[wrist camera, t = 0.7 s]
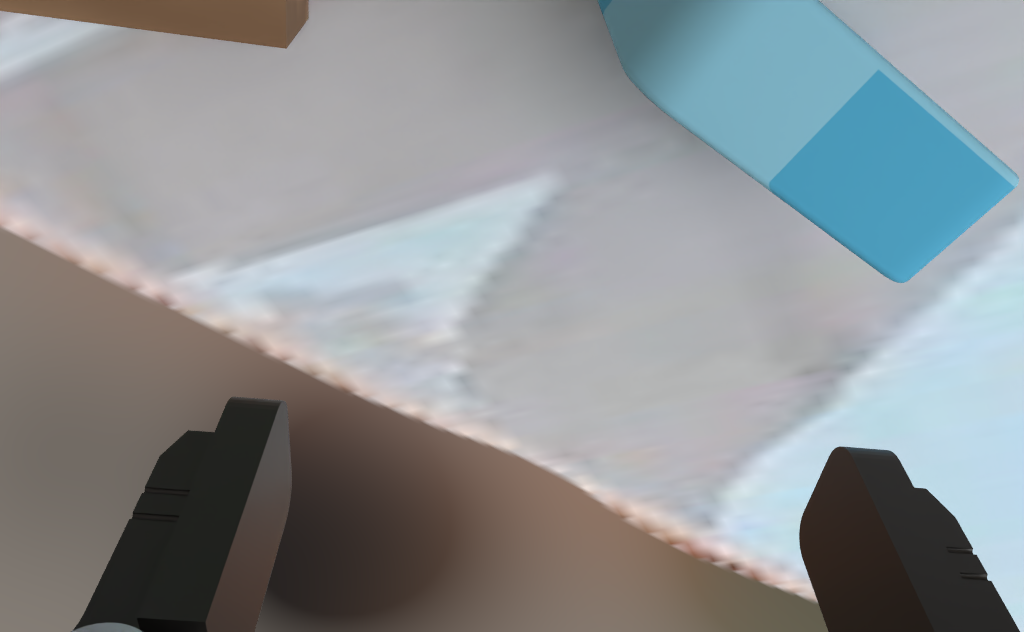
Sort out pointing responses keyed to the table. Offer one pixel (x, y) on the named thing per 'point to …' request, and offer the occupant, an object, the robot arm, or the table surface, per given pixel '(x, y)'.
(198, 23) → the wooden block
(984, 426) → the table surface
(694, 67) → the data package
